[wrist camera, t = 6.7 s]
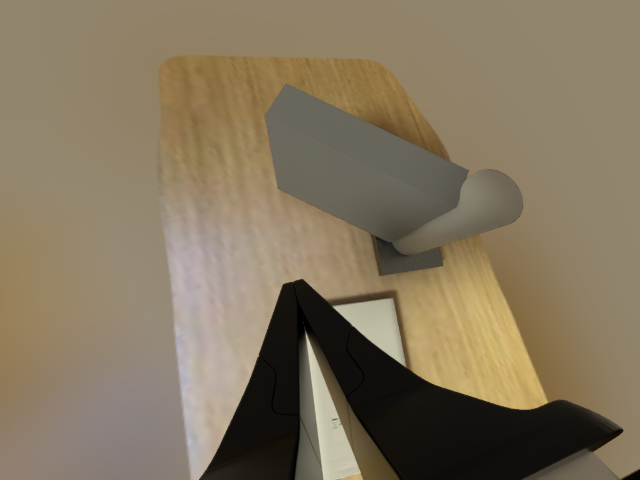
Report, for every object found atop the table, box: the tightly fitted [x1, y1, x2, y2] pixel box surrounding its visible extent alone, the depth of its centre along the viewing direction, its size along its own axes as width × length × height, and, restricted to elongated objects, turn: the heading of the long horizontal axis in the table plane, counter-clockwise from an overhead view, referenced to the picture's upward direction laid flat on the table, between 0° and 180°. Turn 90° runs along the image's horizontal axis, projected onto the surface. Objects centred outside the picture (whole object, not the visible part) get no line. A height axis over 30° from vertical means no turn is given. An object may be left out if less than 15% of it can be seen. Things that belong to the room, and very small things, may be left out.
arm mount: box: [371, 234, 443, 276], centre depth 22 cm, size 6×6×1 cm
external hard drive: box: [306, 297, 406, 480], centre depth 19 cm, size 2×8×12 cm
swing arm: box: [265, 84, 523, 255], centre depth 17 cm, size 3×15×10 cm, turn 65°
